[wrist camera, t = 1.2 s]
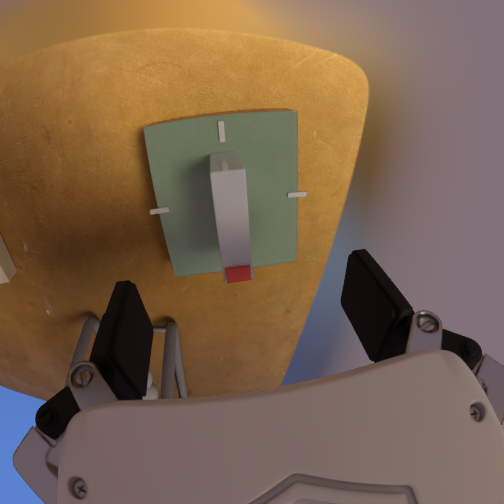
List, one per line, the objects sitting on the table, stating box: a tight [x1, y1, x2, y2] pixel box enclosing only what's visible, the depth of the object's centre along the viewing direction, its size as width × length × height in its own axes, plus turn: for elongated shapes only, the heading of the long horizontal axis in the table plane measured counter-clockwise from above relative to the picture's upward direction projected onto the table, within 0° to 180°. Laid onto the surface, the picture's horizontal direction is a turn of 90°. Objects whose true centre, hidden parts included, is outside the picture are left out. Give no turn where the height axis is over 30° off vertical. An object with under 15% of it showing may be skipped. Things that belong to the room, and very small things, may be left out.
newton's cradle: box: [65, 317, 188, 400], centre depth 27 cm, size 30×10×18 cm, turn 173°
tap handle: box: [210, 151, 253, 283], centre depth 17 cm, size 7×2×5 cm, turn 3°
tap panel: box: [143, 108, 307, 277], centre depth 20 cm, size 12×11×3 cm
